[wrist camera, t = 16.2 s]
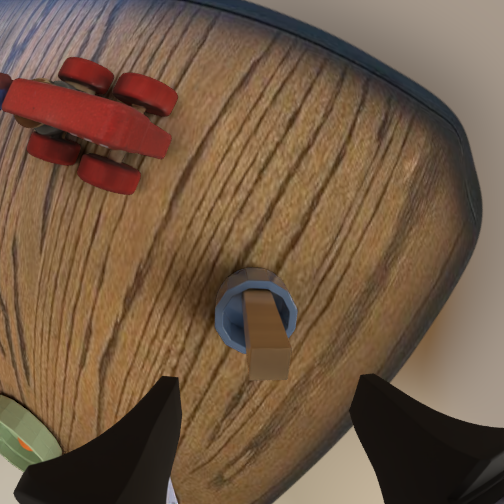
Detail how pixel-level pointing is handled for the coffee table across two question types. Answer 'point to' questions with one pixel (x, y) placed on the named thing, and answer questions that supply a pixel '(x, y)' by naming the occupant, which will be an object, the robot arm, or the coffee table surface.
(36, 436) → the bowl
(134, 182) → the toy fire truck
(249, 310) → the stick
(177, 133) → the coffee table surface
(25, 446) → the ball
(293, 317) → the holder
